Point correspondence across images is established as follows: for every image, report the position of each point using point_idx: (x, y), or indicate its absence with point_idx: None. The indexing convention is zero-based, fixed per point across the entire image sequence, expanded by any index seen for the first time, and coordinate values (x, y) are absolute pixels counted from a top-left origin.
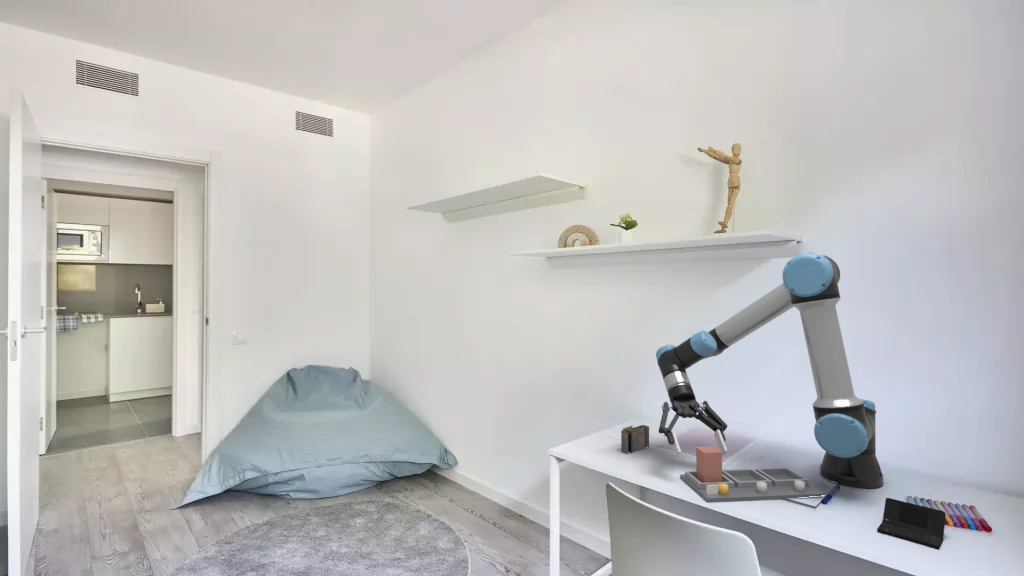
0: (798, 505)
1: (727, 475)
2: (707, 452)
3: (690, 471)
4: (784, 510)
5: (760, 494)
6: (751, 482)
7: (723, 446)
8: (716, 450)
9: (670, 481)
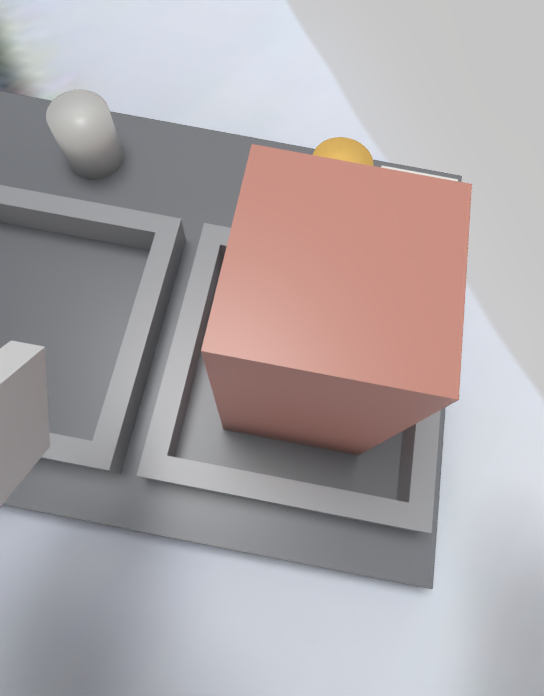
0: (25, 46)
1: (143, 355)
2: (428, 181)
3: (386, 514)
4: (140, 30)
5: (130, 136)
6: (84, 203)
7: (14, 372)
8: (273, 208)
9: (528, 539)
